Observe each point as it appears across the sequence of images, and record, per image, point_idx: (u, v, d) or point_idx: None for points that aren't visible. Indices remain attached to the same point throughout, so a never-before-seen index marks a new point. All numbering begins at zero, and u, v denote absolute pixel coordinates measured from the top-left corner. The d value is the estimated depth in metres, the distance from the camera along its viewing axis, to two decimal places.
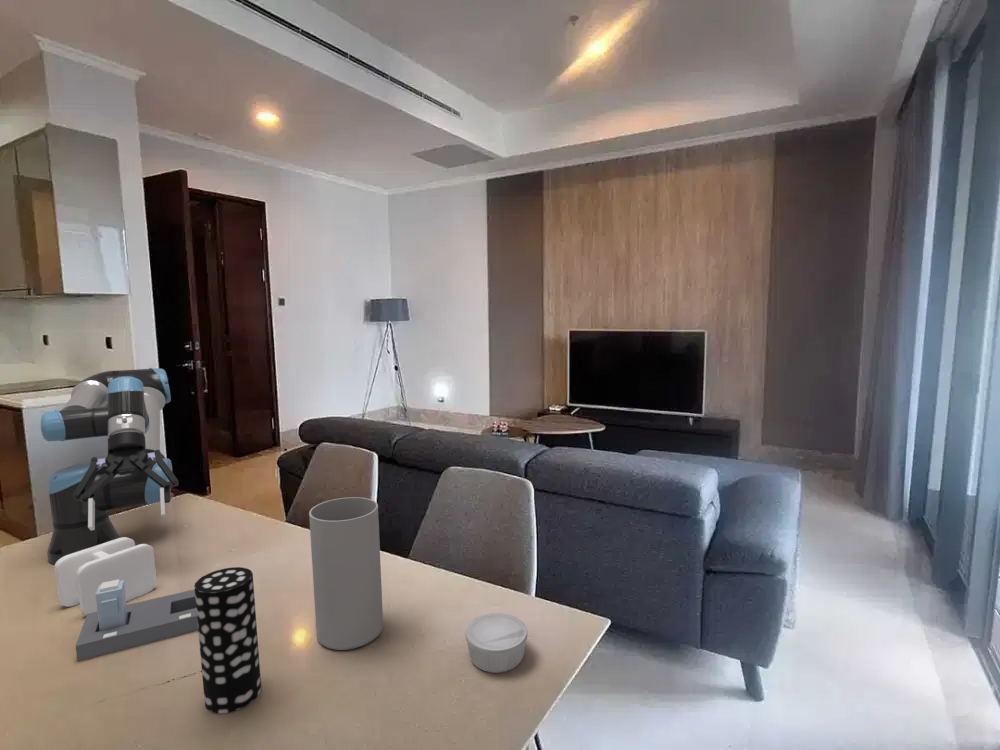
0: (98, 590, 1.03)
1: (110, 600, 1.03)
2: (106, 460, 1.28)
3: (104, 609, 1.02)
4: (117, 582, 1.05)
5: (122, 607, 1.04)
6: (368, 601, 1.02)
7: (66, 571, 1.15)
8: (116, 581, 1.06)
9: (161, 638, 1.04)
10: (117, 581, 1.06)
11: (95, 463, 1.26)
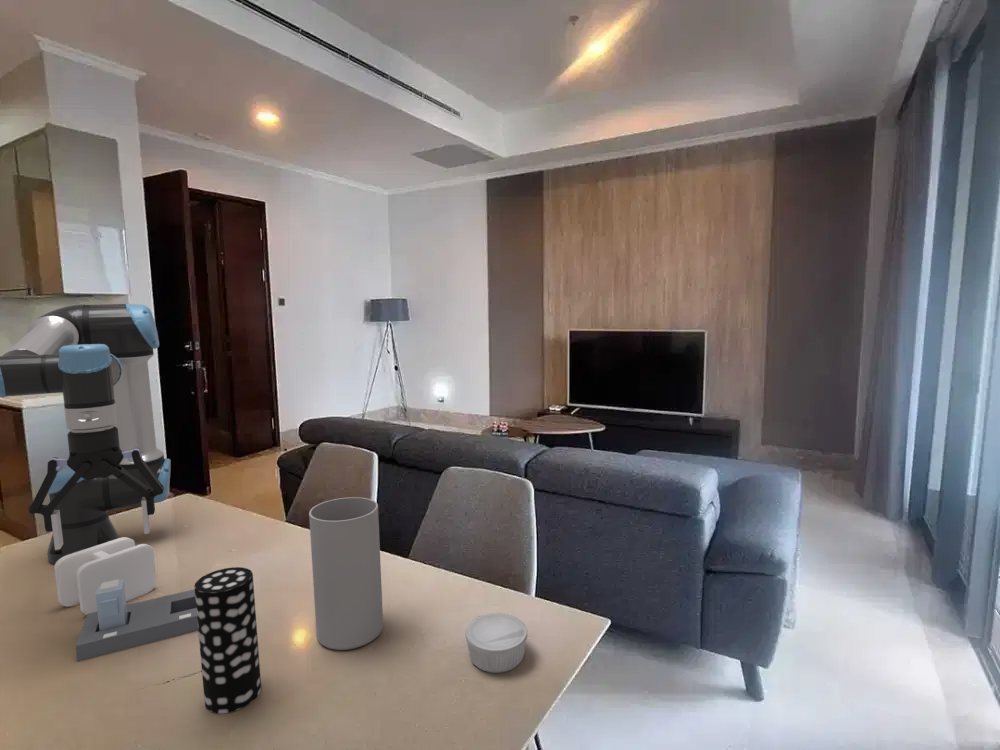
0: (98, 590, 1.03)
1: (110, 600, 1.03)
2: (68, 464, 0.99)
3: (104, 609, 1.02)
4: (117, 582, 1.05)
5: (122, 607, 1.04)
6: (368, 601, 1.02)
7: (66, 571, 1.15)
8: (116, 581, 1.06)
9: (161, 638, 1.04)
10: (117, 581, 1.06)
11: (54, 469, 0.98)
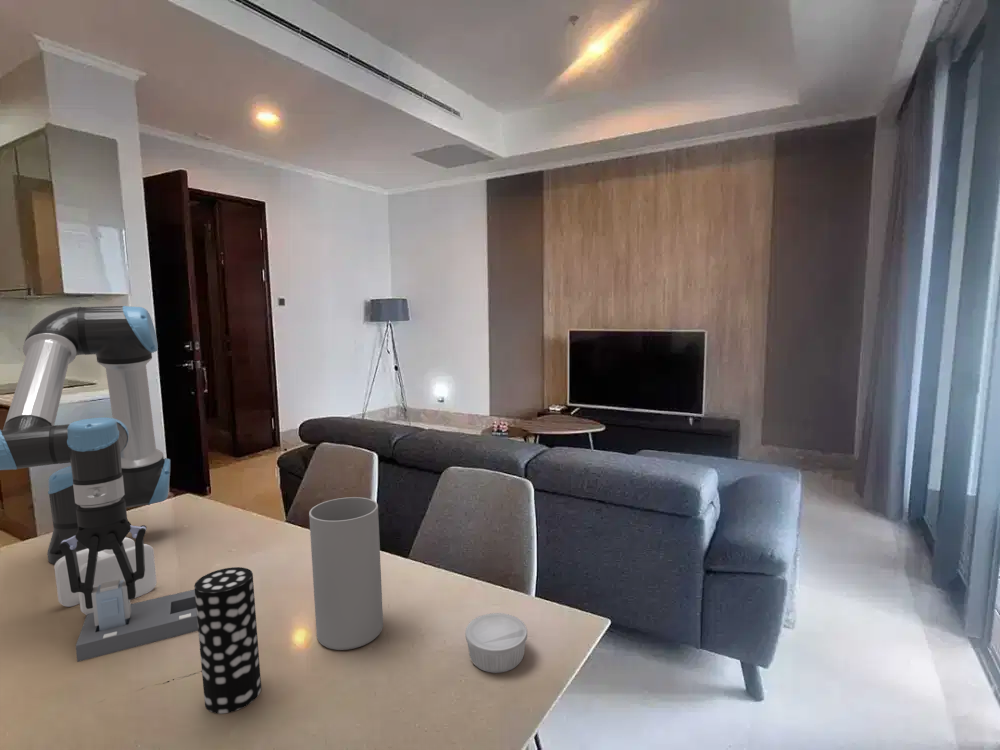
0: (98, 590, 1.03)
1: (110, 600, 1.03)
2: (78, 539, 1.01)
3: (104, 609, 1.02)
4: (117, 582, 1.05)
5: (122, 607, 1.04)
6: (368, 601, 1.02)
7: (66, 571, 1.15)
8: (116, 581, 1.06)
9: (161, 638, 1.04)
10: (117, 581, 1.06)
11: (68, 549, 1.00)
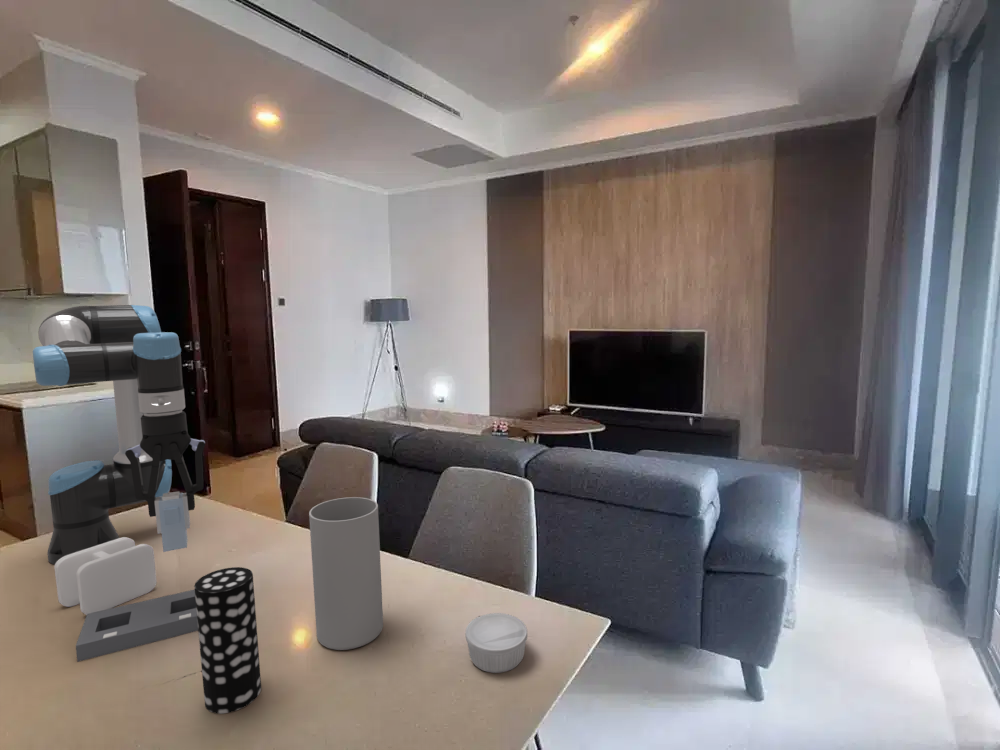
0: (160, 499, 1.07)
1: (172, 508, 1.06)
2: (143, 448, 1.04)
3: (167, 517, 1.05)
4: (178, 493, 1.08)
5: (183, 516, 1.08)
6: (368, 601, 1.02)
7: (66, 571, 1.15)
8: (176, 492, 1.09)
9: (161, 638, 1.04)
10: (177, 492, 1.09)
11: (134, 456, 1.03)
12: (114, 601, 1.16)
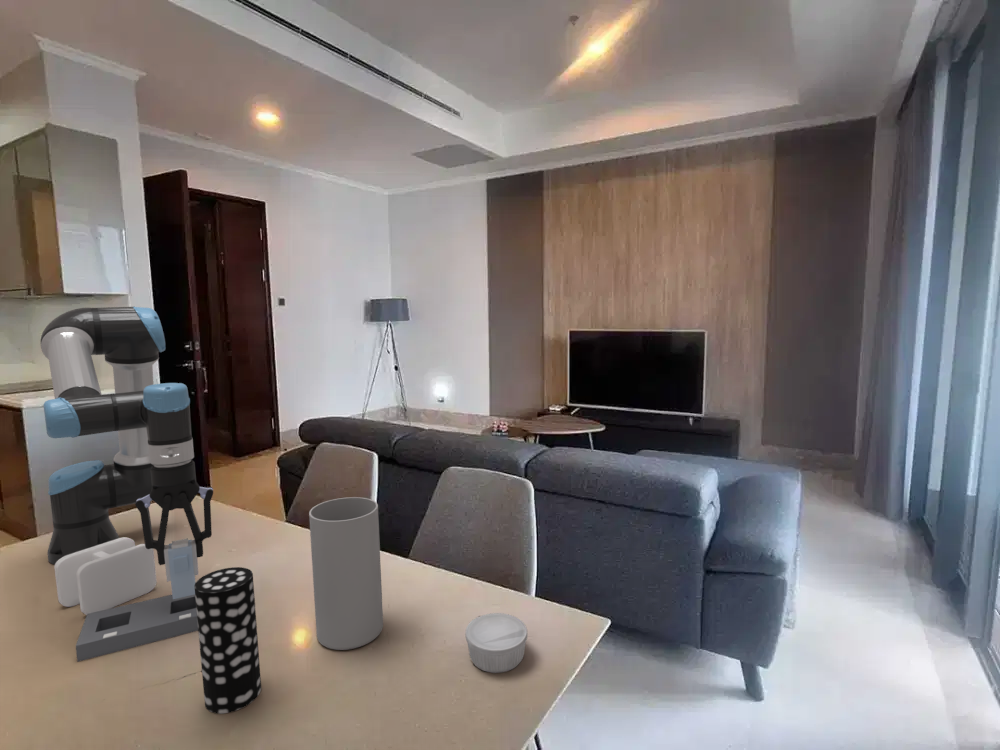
0: (169, 547, 1.08)
1: (181, 557, 1.07)
2: (152, 498, 1.06)
3: (176, 565, 1.07)
4: (186, 540, 1.10)
5: (192, 564, 1.09)
6: (368, 601, 1.02)
7: (66, 571, 1.15)
8: (185, 540, 1.11)
9: (161, 638, 1.04)
10: (186, 540, 1.11)
11: (143, 507, 1.05)
12: (114, 601, 1.16)
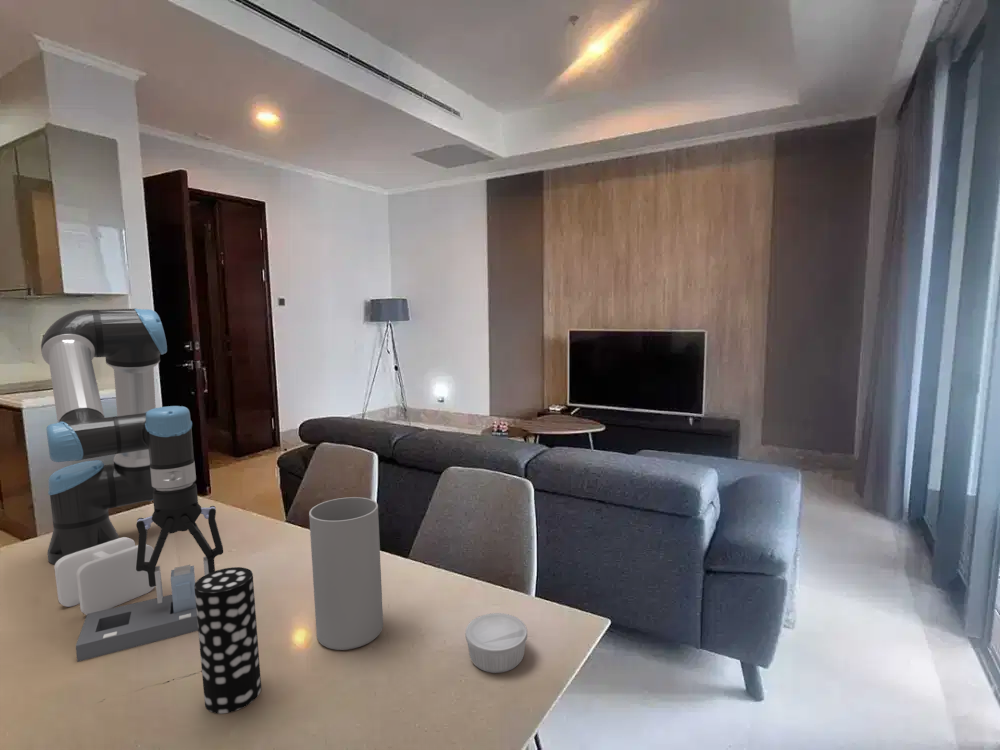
0: (172, 574, 1.09)
1: (183, 584, 1.08)
2: (154, 520, 1.06)
3: (178, 592, 1.08)
4: (189, 567, 1.11)
5: (194, 591, 1.10)
6: (368, 601, 1.02)
7: (66, 571, 1.15)
8: (187, 566, 1.11)
9: (161, 638, 1.04)
10: (188, 566, 1.11)
11: (143, 528, 1.05)
12: (114, 601, 1.16)
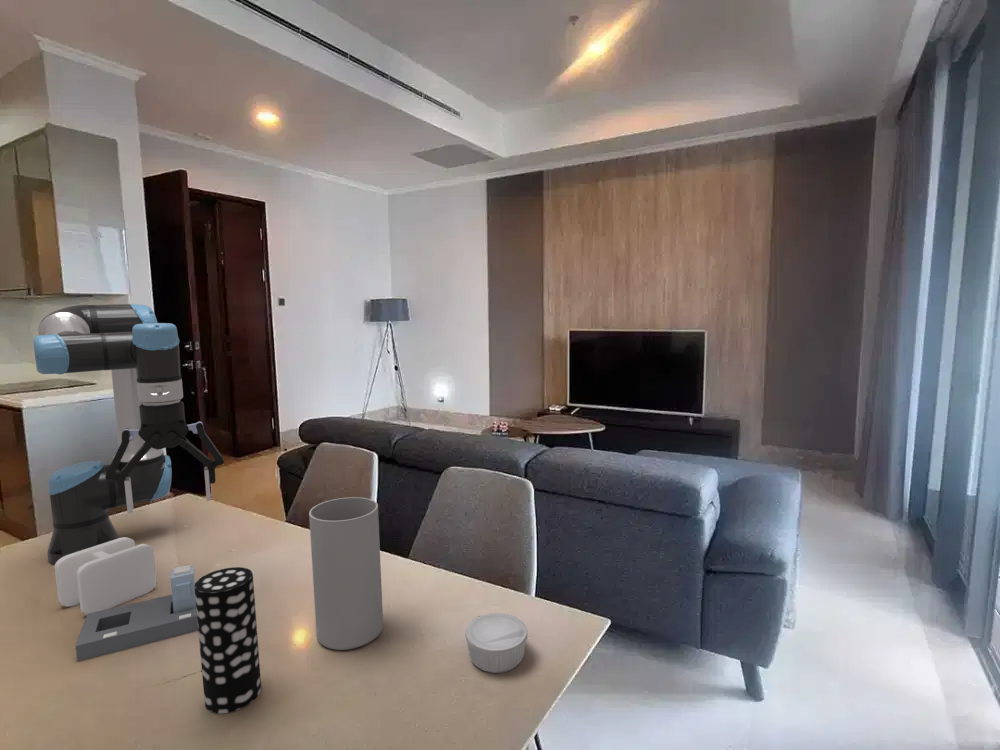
0: (172, 574, 1.09)
1: (183, 584, 1.08)
2: (140, 434, 1.06)
3: (178, 592, 1.08)
4: (188, 567, 1.11)
5: (194, 591, 1.10)
6: (368, 601, 1.02)
7: (66, 571, 1.15)
8: (187, 566, 1.11)
9: (161, 638, 1.04)
10: (188, 566, 1.11)
11: (127, 438, 1.05)
12: (114, 601, 1.16)
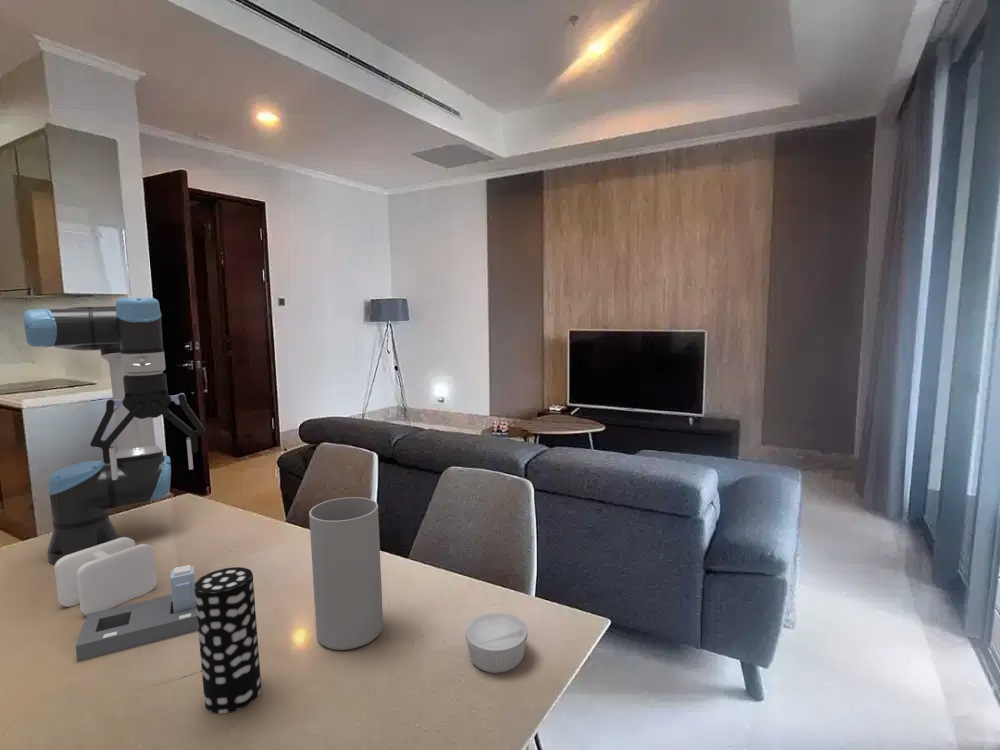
0: (172, 574, 1.09)
1: (183, 584, 1.08)
2: (124, 404, 1.11)
3: (178, 592, 1.08)
4: (188, 567, 1.11)
5: (194, 591, 1.10)
6: (368, 601, 1.02)
7: (66, 571, 1.15)
8: (187, 566, 1.11)
9: (161, 638, 1.04)
10: (188, 566, 1.11)
11: (112, 407, 1.10)
12: (114, 601, 1.16)
